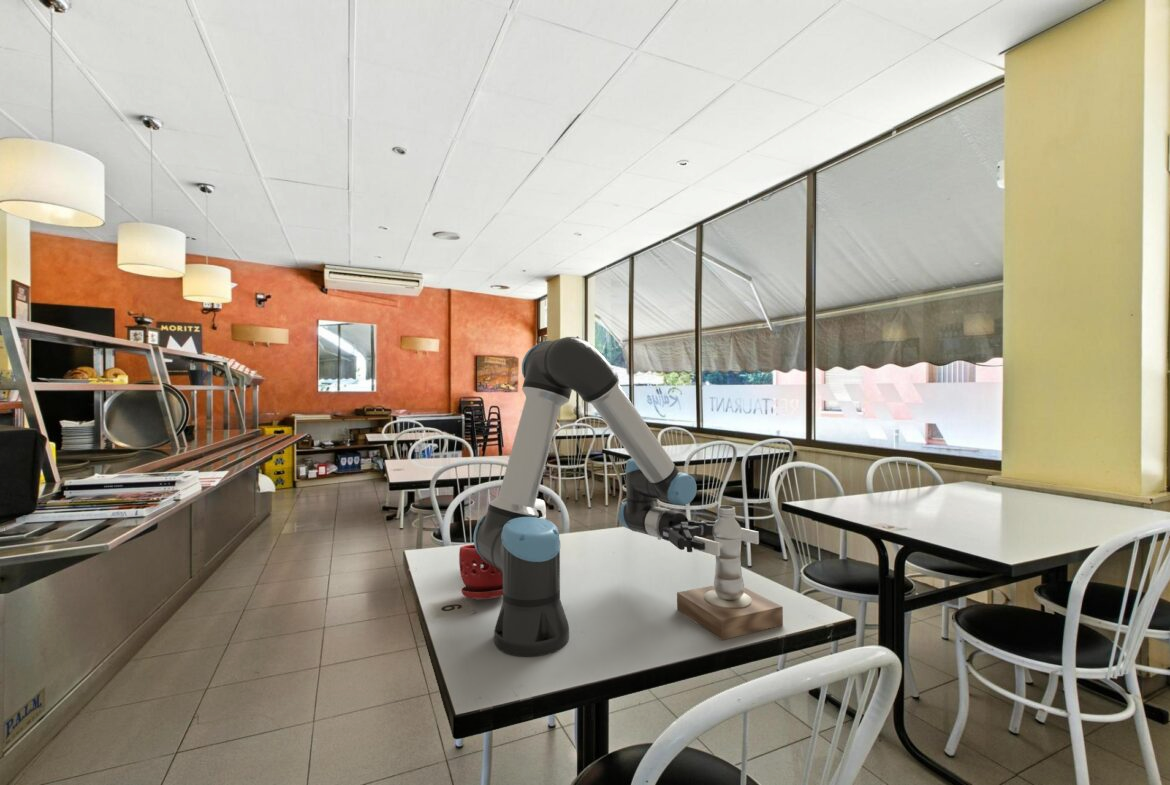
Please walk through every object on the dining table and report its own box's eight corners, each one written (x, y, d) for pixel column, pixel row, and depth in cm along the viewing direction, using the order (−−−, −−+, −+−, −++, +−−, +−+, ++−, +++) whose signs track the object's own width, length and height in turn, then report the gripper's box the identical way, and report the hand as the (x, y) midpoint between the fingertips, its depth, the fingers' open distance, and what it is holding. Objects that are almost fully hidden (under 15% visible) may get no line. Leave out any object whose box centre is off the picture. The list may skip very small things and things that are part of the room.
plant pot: (502, 602, 117) (501, 548, 119) (449, 601, 120) (449, 549, 122) (521, 589, 130) (520, 540, 132) (473, 589, 132) (473, 541, 134)
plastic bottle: (750, 596, 113) (747, 506, 113) (734, 606, 108) (732, 512, 108) (724, 589, 117) (721, 502, 117) (708, 598, 113) (705, 508, 112)
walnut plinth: (721, 640, 102) (721, 618, 102) (677, 609, 117) (676, 590, 117) (782, 625, 109) (782, 604, 109) (733, 598, 123) (733, 580, 123)
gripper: (700, 531, 135) (772, 550, 118) (630, 549, 120) (701, 573, 103) (700, 503, 135) (772, 517, 118) (630, 517, 120) (700, 536, 103)
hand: (739, 543), depth 111 cm, fingers open, 13 cm apart
